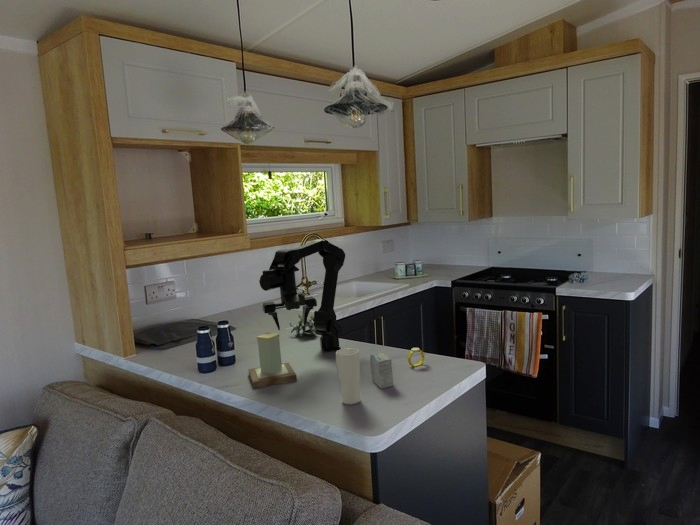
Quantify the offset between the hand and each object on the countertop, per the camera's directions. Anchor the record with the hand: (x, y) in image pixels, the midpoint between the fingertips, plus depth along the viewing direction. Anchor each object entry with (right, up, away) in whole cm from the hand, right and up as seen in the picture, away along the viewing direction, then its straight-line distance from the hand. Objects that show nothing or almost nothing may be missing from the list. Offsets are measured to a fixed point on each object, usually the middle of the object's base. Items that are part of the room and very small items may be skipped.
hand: (291, 328), depth 190 cm
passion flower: (+1, -8, +38) cm, 38 cm away
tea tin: (-6, -13, -12) cm, 18 cm away
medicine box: (+31, -14, -25) cm, 42 cm away
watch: (+43, -12, -11) cm, 46 cm away
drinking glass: (+21, -17, -37) cm, 46 cm away
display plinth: (-5, -15, -11) cm, 20 cm away
